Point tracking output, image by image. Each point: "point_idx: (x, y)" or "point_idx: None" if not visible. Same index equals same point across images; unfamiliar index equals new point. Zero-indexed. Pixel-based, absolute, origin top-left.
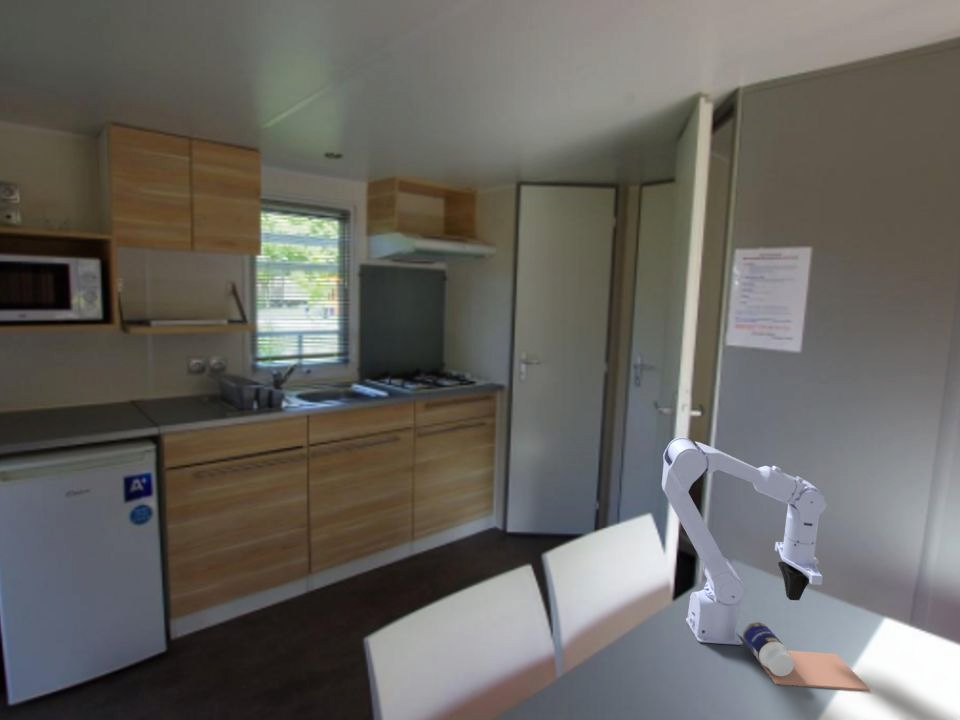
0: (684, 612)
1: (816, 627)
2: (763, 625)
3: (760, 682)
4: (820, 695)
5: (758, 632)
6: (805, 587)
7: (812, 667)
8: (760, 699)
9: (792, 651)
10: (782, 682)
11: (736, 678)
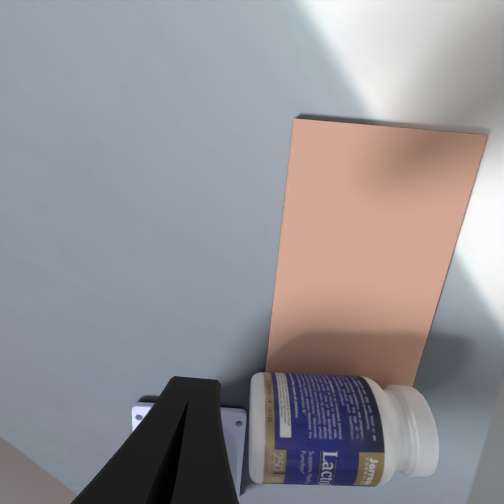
0: None
1: (102, 62)
2: (280, 461)
3: None
4: (461, 316)
5: (313, 484)
6: (236, 498)
7: (360, 270)
8: (442, 460)
9: (279, 286)
10: None
11: None
